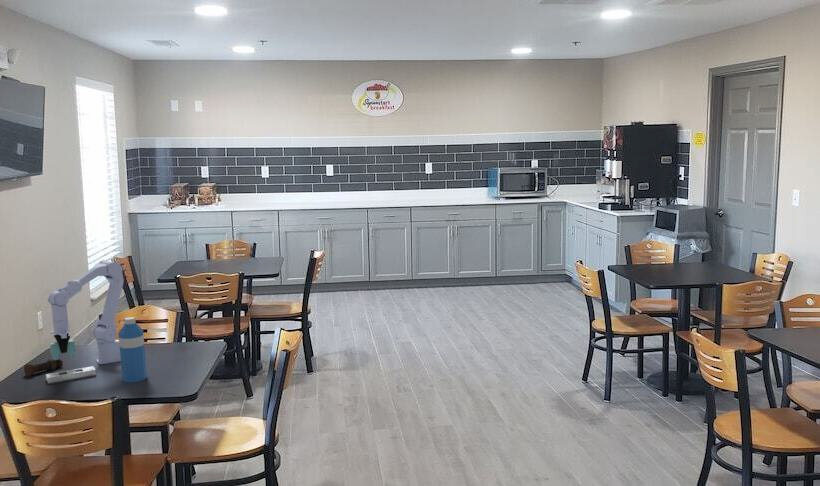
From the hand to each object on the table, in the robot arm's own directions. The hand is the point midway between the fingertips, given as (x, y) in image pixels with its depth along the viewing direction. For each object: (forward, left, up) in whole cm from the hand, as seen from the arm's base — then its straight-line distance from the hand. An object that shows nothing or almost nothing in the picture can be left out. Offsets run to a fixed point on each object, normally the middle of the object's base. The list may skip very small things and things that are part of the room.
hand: (63, 351), depth 319 cm
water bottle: (-22, +28, -9) cm, 36 cm away
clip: (0, 0, -2) cm, 2 cm away
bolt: (+7, -8, -9) cm, 14 cm away
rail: (-1, +10, -9) cm, 13 cm away
